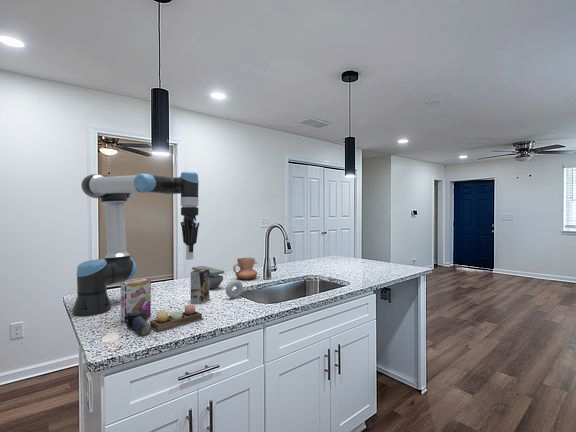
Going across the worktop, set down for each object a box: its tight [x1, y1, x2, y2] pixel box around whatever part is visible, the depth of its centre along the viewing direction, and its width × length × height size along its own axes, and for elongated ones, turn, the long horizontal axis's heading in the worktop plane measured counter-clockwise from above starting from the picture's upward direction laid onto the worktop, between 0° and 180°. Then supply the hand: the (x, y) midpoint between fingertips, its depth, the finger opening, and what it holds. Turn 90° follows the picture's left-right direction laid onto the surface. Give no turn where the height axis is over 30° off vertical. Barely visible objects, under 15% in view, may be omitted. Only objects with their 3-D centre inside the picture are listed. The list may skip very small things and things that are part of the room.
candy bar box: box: [120, 278, 152, 324], centre depth 135 cm, size 11×5×16 cm, turn 141°
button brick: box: [184, 304, 196, 314], centre depth 134 cm, size 4×4×3 cm
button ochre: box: [156, 311, 169, 321], centre depth 125 cm, size 4×4×3 cm
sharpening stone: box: [191, 265, 225, 290], centre depth 193 cm, size 25×8×11 cm, turn 44°
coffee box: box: [190, 269, 210, 305], centre depth 161 cm, size 9×6×16 cm
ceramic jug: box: [232, 256, 259, 281], centre depth 215 cm, size 18×14×14 cm
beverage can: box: [124, 310, 152, 336], centre depth 122 cm, size 9×8×12 cm
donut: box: [225, 279, 244, 299], centre depth 167 cm, size 10×4×10 cm, turn 130°
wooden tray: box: [149, 310, 204, 333], centre depth 130 cm, size 9×20×2 cm, turn 137°
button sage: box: [170, 311, 183, 320], centre depth 130 cm, size 4×4×3 cm
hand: (189, 259), depth 140 cm, fingers closed
